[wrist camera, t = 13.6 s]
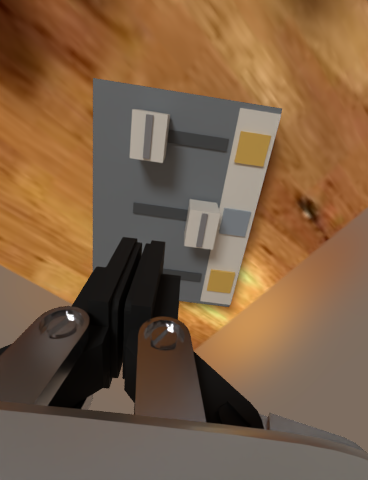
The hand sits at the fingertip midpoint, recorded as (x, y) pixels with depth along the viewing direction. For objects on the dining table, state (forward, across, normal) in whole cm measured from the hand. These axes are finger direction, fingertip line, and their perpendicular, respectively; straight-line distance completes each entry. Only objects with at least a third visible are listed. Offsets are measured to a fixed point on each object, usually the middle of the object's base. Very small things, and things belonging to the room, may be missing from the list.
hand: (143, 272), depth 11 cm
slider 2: (+20, -3, +5) cm, 21 cm away
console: (+24, 0, +5) cm, 24 cm away
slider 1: (+20, +2, -3) cm, 20 cm away
